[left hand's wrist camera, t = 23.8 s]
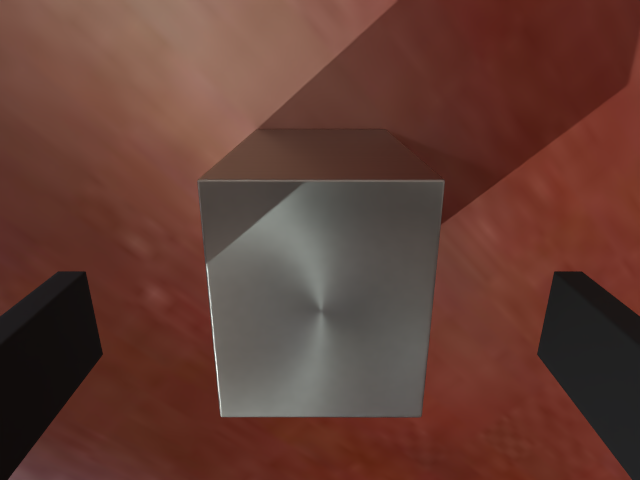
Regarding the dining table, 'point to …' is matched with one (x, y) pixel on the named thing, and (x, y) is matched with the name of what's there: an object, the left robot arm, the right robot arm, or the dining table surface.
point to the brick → (321, 273)
